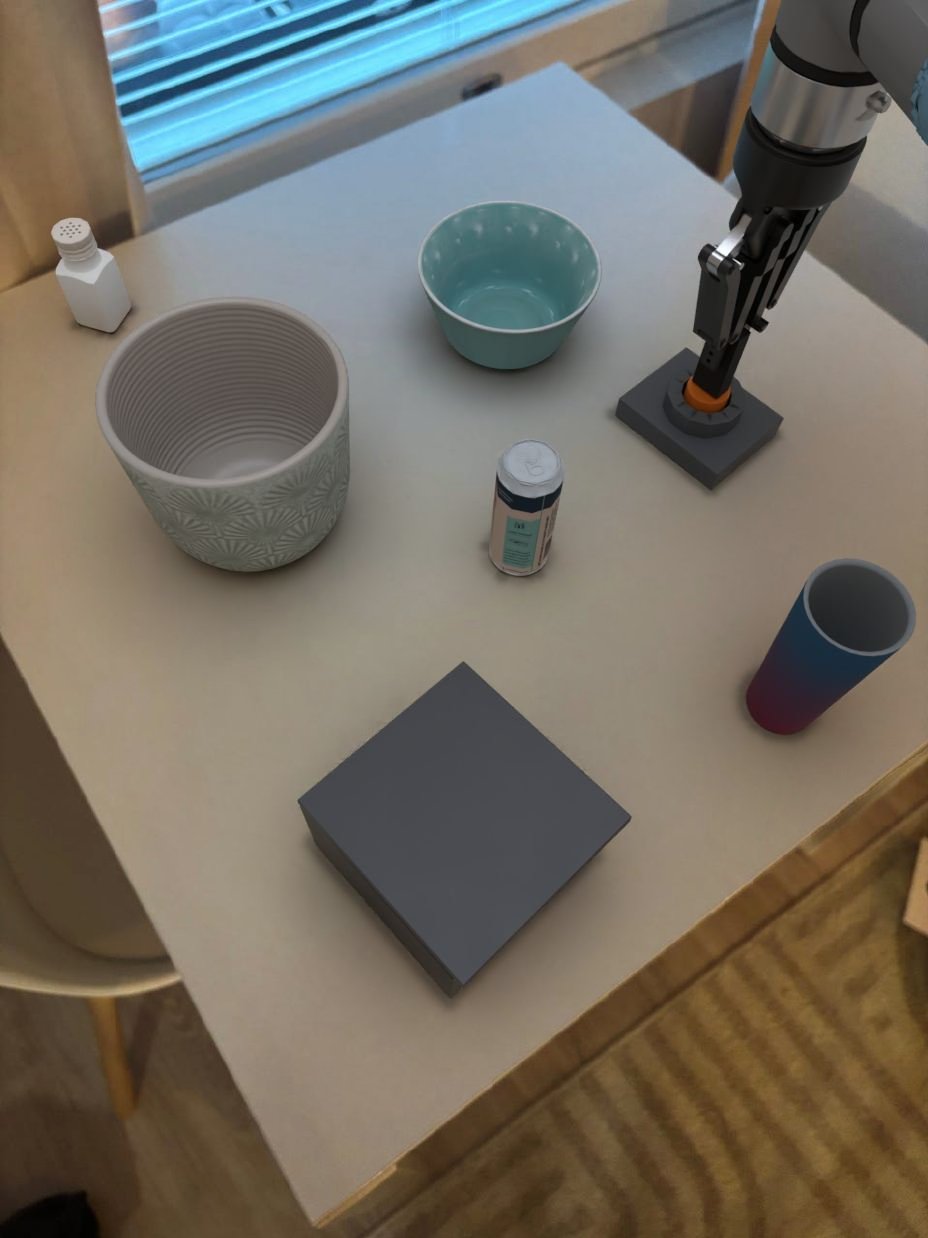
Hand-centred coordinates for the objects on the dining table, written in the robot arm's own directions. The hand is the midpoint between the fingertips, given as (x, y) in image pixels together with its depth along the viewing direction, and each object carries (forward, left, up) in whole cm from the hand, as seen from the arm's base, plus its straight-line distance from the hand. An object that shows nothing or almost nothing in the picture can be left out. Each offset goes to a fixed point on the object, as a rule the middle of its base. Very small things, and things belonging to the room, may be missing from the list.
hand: (709, 385), depth 78 cm
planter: (+18, +34, -5) cm, 39 cm away
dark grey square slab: (-13, +41, +4) cm, 43 cm away
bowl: (+19, +5, -5) cm, 20 cm away
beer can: (+1, +21, -5) cm, 22 cm away
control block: (0, 0, -5) cm, 5 cm away
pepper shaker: (+45, +31, -5) cm, 55 cm away
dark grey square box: (-13, +41, -5) cm, 43 cm away
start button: (0, 0, -2) cm, 2 cm away
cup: (-21, +16, -5) cm, 27 cm away
